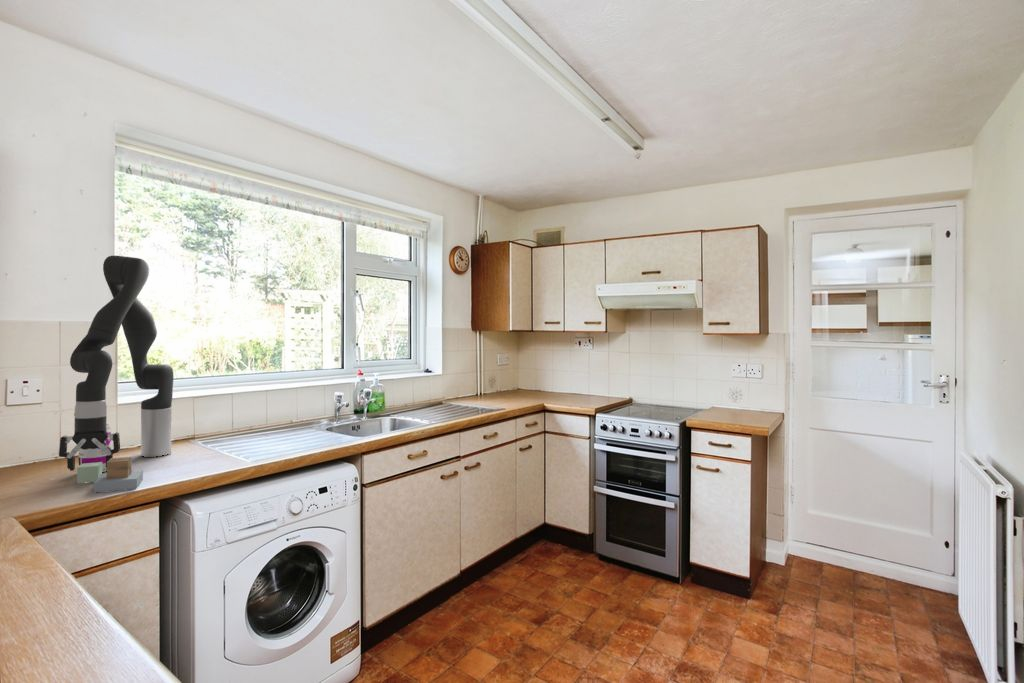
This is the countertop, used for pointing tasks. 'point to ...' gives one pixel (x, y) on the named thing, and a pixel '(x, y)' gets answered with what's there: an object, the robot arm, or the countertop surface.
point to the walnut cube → (118, 467)
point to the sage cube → (89, 472)
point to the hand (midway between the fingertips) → (90, 468)
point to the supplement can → (95, 453)
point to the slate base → (118, 482)
